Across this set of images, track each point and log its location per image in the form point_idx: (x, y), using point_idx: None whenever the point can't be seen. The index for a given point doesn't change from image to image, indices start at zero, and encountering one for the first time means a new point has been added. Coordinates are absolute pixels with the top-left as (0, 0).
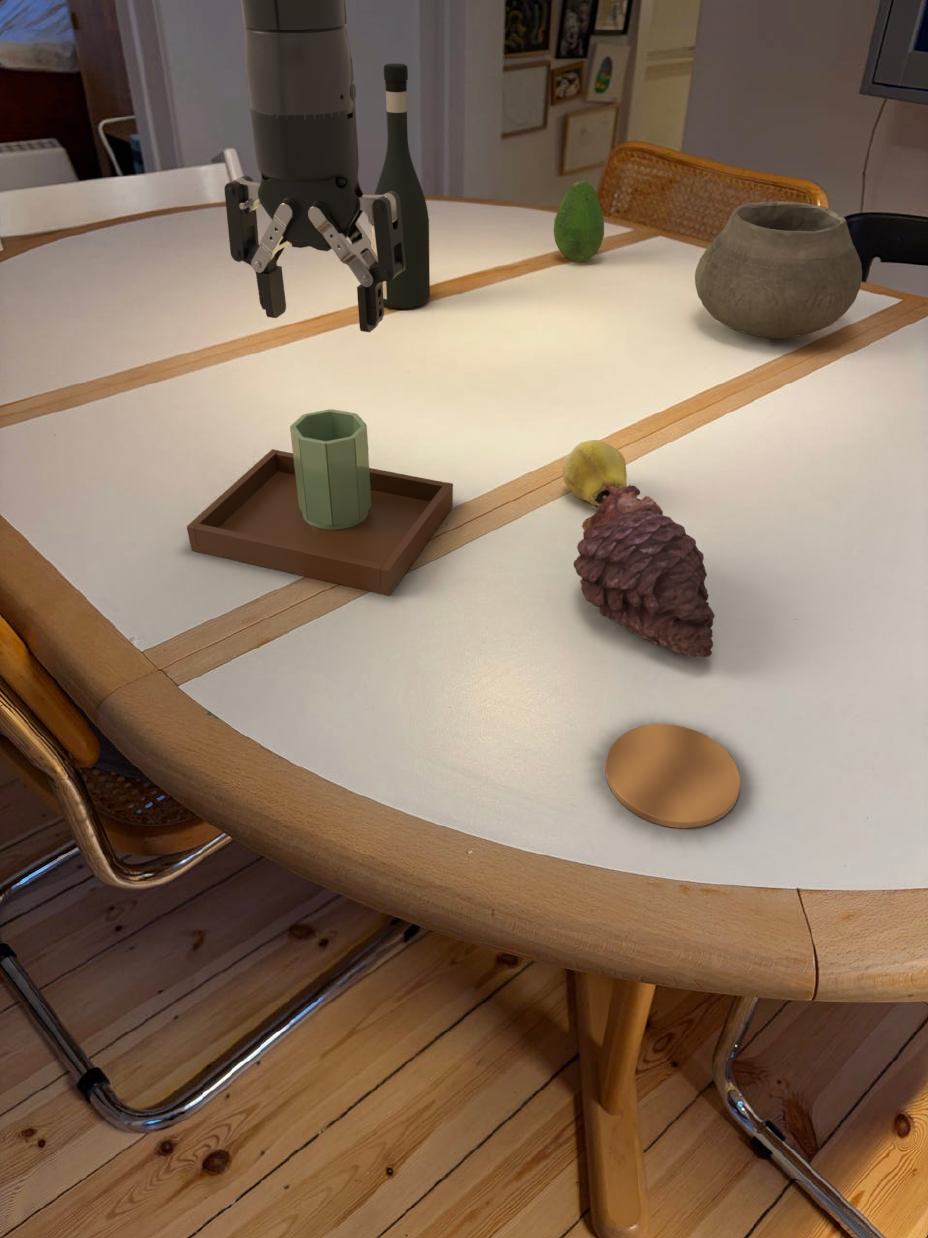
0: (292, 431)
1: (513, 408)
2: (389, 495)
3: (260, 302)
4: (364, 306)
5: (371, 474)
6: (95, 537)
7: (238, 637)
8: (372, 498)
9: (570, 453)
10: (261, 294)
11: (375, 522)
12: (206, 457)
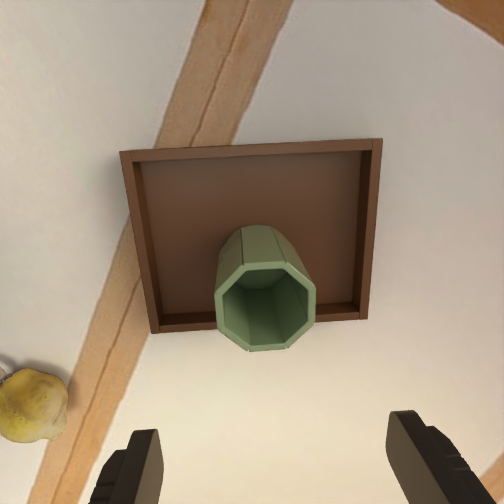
0: (306, 277)
1: (193, 483)
2: None
3: (447, 439)
4: (116, 493)
5: None
6: (483, 117)
7: (236, 7)
8: None
9: (51, 417)
10: (456, 461)
11: (208, 257)
12: (438, 301)
